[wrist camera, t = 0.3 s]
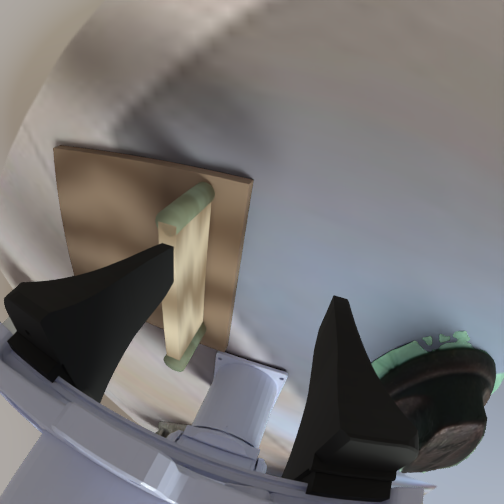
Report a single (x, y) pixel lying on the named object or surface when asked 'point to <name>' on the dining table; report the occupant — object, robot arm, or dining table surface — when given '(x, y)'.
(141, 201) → the board
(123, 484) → the robot arm
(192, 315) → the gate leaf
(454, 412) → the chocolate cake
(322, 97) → the dining table surface
